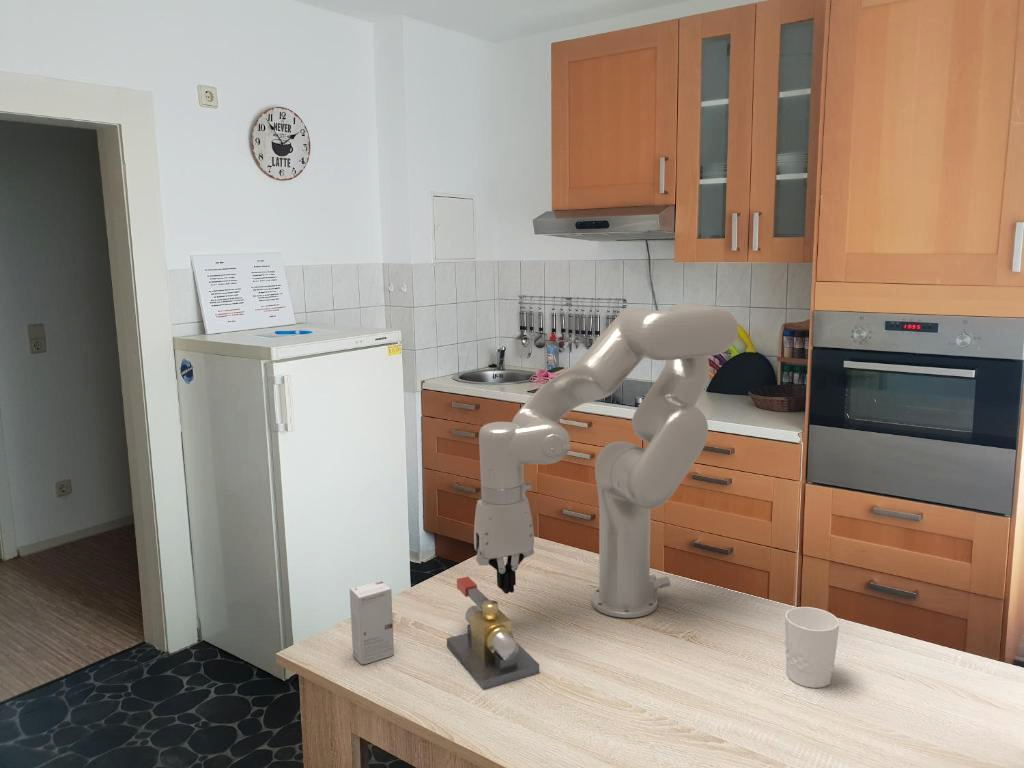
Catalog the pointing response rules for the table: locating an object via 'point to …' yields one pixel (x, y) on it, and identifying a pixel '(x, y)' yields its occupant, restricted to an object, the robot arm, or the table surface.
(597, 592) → the robot arm
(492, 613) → the valve lever
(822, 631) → the white cup
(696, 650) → the table surface
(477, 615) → the valve manifold
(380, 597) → the skincare box
